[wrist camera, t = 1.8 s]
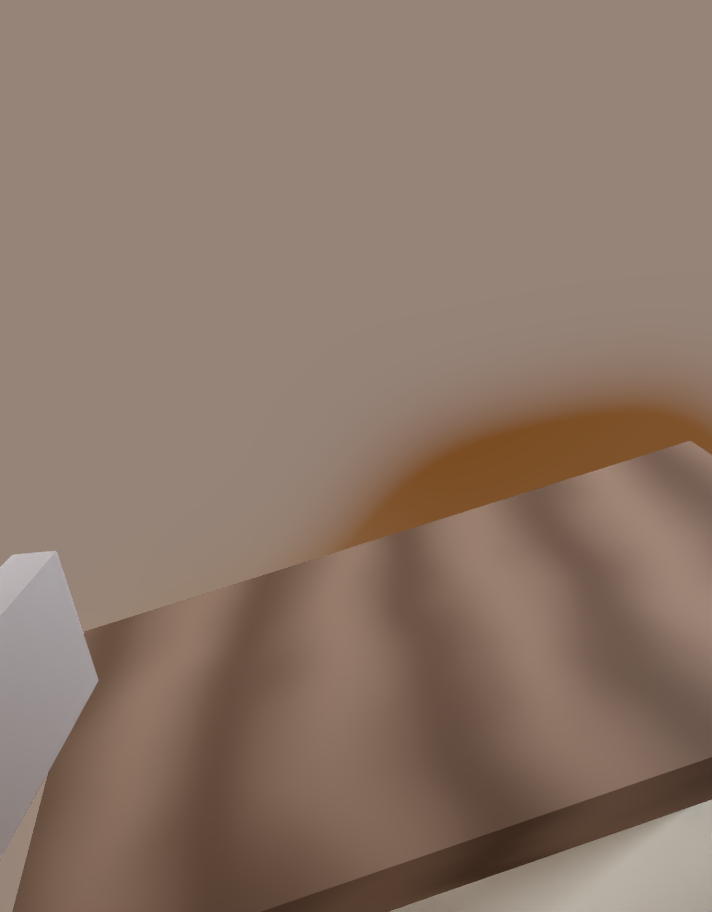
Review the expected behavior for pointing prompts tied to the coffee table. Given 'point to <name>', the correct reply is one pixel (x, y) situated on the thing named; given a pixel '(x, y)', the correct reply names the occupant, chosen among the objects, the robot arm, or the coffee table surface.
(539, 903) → the coffee table surface
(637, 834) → the coffee table surface
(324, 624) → the wooden stool
